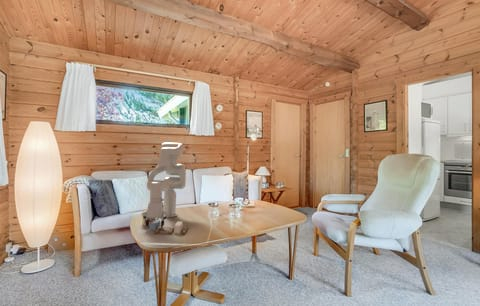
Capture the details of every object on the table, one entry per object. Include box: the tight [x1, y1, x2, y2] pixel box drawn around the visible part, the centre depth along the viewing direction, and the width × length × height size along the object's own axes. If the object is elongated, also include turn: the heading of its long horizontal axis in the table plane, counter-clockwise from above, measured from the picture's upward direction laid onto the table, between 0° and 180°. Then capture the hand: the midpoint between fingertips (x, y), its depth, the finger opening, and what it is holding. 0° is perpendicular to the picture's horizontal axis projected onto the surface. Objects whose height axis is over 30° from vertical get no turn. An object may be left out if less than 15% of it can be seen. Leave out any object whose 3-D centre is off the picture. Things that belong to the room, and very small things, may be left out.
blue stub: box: [149, 220, 161, 231], centre depth 159 cm, size 9×4×5 cm, turn 178°
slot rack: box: [153, 224, 189, 236], centre depth 155 cm, size 14×19×2 cm
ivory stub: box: [173, 220, 184, 234], centre depth 155 cm, size 9×4×5 cm, turn 2°
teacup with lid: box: [142, 209, 160, 227], centre depth 171 cm, size 12×9×12 cm
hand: (154, 226), depth 159 cm, fingers open, 9 cm apart
